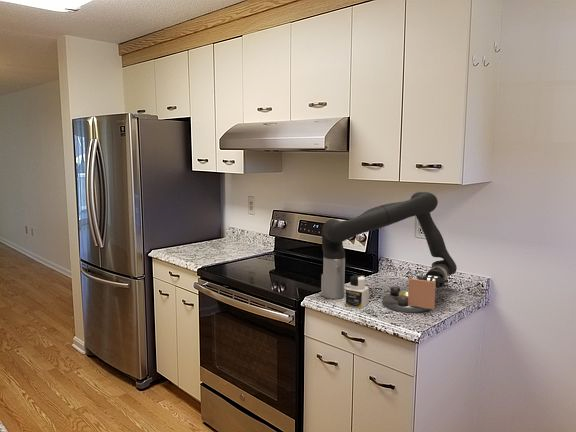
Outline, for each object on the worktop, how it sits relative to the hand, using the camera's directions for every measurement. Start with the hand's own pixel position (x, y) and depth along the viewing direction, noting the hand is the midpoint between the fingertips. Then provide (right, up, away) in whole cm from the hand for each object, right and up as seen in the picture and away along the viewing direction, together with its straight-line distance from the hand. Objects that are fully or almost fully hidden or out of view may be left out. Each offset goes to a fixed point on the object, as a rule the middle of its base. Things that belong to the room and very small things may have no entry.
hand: (427, 286), depth 179 cm
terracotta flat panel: (-4, -8, +2) cm, 9 cm away
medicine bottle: (-26, -9, +11) cm, 29 cm away
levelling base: (-5, -9, +11) cm, 15 cm away
